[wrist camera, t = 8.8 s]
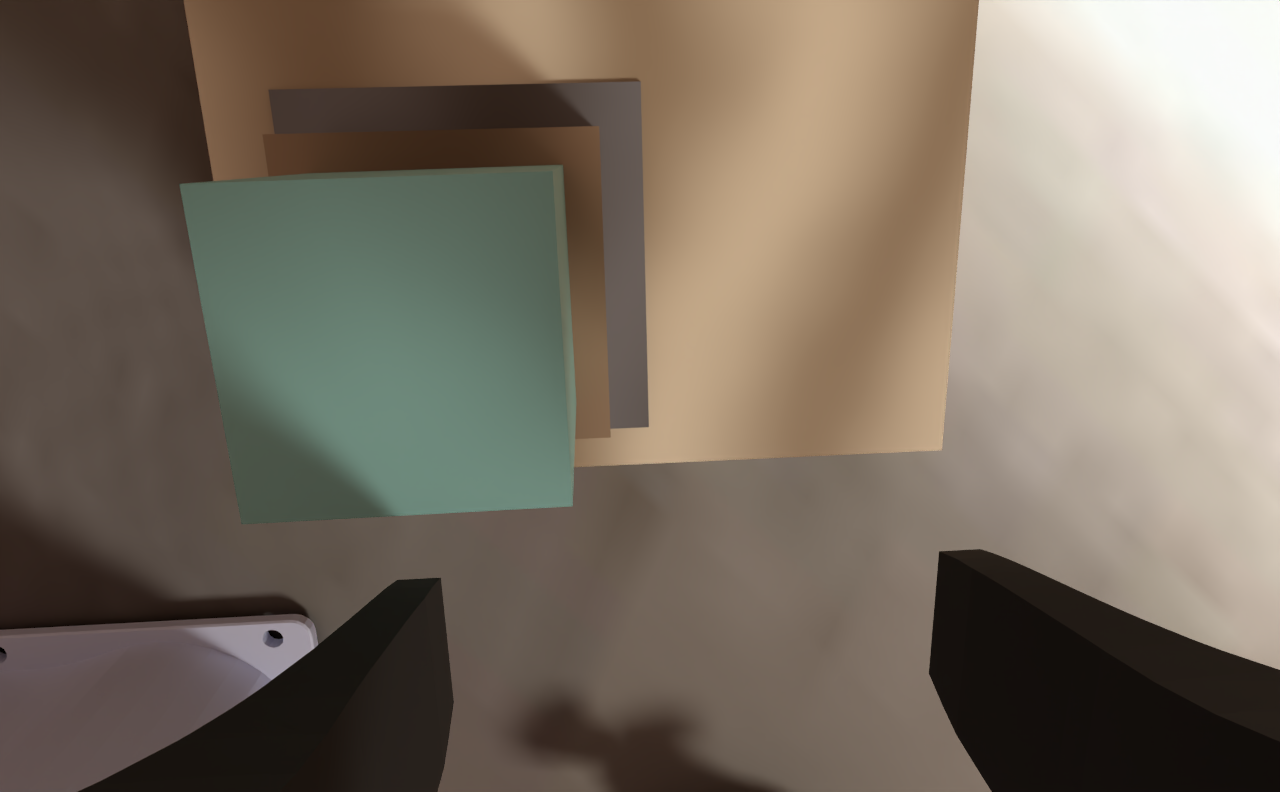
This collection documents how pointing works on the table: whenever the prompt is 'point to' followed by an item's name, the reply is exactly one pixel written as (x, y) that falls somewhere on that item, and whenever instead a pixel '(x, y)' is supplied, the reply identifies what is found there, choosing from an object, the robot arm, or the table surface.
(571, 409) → the teal block
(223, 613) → the table surface
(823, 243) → the board
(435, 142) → the walnut base block
